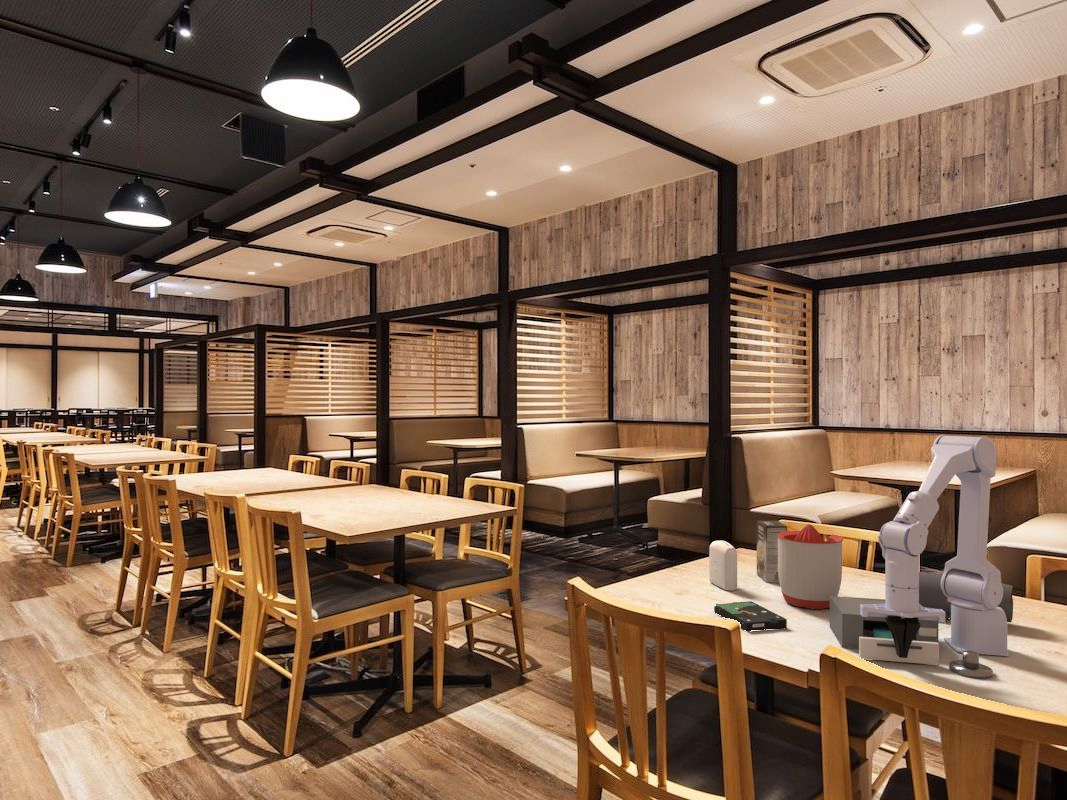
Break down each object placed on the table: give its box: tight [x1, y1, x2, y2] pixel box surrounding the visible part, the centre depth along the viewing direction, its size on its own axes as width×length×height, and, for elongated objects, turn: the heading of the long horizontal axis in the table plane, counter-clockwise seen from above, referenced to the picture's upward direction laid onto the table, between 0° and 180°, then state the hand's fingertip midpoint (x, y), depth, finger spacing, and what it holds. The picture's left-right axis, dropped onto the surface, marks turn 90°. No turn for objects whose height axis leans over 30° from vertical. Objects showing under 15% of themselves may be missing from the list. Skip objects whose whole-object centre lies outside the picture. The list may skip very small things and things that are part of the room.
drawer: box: [858, 629, 940, 666], centre depth 142 cm, size 14×16×4 cm
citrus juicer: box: [777, 523, 844, 611], centre depth 176 cm, size 16×17×20 cm
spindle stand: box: [948, 650, 994, 680], centre depth 131 cm, size 7×7×4 cm
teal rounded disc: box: [873, 626, 893, 639], centre depth 143 cm, size 6×6×2 cm
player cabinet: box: [829, 596, 940, 650], centre depth 148 cm, size 18×14×7 cm
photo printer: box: [708, 540, 738, 591], centre depth 191 cm, size 10×4×12 cm, turn 13°
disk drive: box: [713, 600, 788, 632], centre depth 161 cm, size 10×3×15 cm
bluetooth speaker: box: [919, 571, 1014, 623], centre depth 164 cm, size 23×9×10 cm, turn 53°
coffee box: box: [756, 520, 788, 583], centre depth 200 cm, size 9×6×16 cm
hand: (901, 656), depth 133 cm, fingers closed, pressing on drawer
